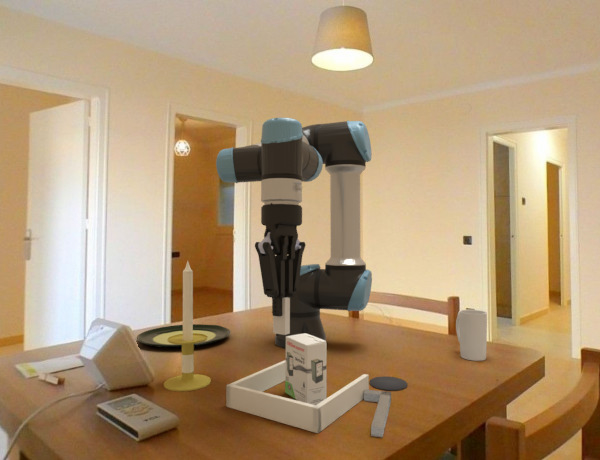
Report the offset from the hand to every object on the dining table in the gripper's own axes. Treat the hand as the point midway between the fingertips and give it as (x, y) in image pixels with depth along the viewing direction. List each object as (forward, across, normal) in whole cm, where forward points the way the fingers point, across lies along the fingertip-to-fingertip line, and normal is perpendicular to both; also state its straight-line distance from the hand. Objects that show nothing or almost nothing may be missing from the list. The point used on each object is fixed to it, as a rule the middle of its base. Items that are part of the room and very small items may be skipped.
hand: (281, 333), depth 78 cm
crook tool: (+15, +8, -15) cm, 22 cm away
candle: (+14, +2, +26) cm, 30 cm away
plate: (+14, +28, +56) cm, 64 cm away
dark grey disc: (+14, +24, -11) cm, 30 cm away
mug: (+14, +56, -21) cm, 62 cm away
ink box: (+14, +8, 0) cm, 17 cm away
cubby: (+14, +6, 0) cm, 16 cm away
